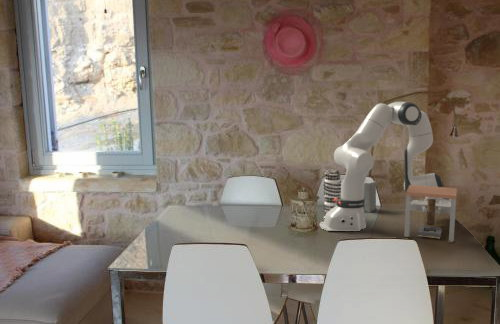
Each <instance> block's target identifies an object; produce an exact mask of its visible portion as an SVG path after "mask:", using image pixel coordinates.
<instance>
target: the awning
mask: <svg viewBox="0 0 500 324" xmlns="http://www.w3.org/2000/svg"><path fill="white" fill-rule="evenodd" d="M457 191H458V188H456V187H455V188H454V187H445V186H444V187H431V186H417V185H409V187H408V189H407V191H406V192H405V212H404V234H403V235H404V236H409V237H410V229H411V227H410V226H411V210H410V209H411V201H412V197H424V198H425V197H434V198H447V199H451V212H450V214H449V230H448V231H449V234H448V241H449V240H450V241H455V226H456V225H455V224H456V212H457V211H456V210H457V209H456V208H457V193H458V192H457ZM429 231H434V232H429ZM442 232H443V227H439V226H436V227H435V226H429V225H419V226H418V230H417V235H422V236H434V237H441V238H442V234H443V233H442ZM441 233H442V234H441ZM404 236H403V237H404Z"/></svg>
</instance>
